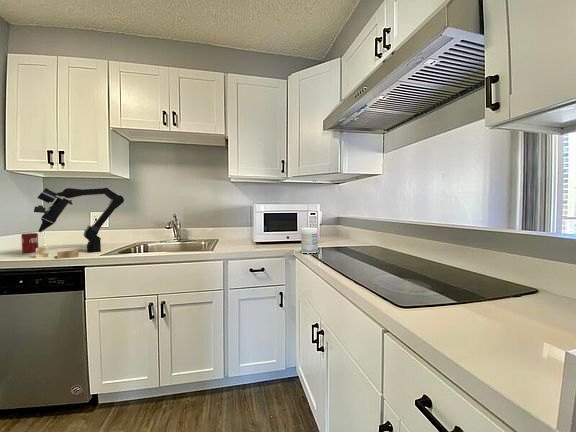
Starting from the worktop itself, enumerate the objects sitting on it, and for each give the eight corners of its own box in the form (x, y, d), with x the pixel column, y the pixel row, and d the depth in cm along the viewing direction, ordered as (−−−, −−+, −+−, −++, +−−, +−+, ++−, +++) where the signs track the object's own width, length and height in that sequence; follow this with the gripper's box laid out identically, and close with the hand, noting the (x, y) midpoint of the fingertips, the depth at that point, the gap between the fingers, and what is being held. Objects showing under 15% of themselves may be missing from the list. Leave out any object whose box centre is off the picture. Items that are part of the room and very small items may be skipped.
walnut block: (77, 255, 161) (77, 250, 161) (78, 257, 154) (78, 252, 154) (57, 257, 155) (57, 251, 155) (57, 259, 148) (57, 254, 148)
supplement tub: (315, 255, 156) (315, 229, 156) (299, 254, 159) (299, 228, 158) (319, 252, 165) (319, 227, 165) (303, 251, 168) (303, 227, 168)
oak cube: (48, 255, 158) (48, 247, 158) (48, 257, 154) (47, 248, 154) (36, 256, 155) (36, 247, 154) (36, 258, 151) (35, 249, 151)
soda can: (19, 254, 161) (18, 234, 161) (27, 252, 168) (26, 232, 168) (34, 253, 163) (33, 233, 163) (41, 251, 170) (40, 232, 170)
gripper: (42, 200, 161) (23, 224, 156) (40, 199, 147) (20, 225, 142) (63, 210, 168) (46, 233, 163) (64, 210, 153) (45, 235, 148)
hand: (39, 231), depth 154 cm, fingers open, 9 cm apart
